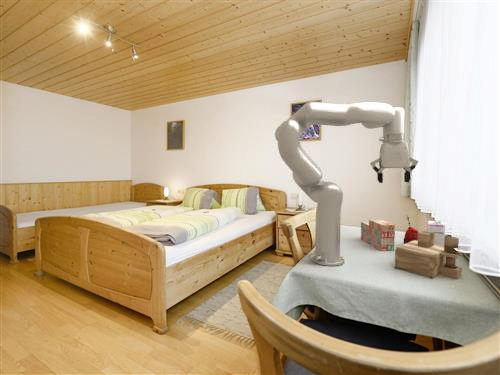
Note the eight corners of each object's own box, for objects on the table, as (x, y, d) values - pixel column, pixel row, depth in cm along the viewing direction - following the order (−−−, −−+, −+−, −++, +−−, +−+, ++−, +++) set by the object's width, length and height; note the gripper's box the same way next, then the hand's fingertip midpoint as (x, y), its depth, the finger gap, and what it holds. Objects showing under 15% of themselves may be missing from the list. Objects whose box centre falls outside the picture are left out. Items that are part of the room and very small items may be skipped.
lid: (451, 265, 81) (452, 243, 80) (396, 252, 94) (396, 233, 94) (467, 255, 90) (468, 235, 90) (414, 244, 104) (415, 227, 103)
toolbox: (451, 283, 81) (451, 262, 81) (394, 268, 95) (395, 249, 94) (466, 272, 91) (467, 252, 90) (413, 259, 104) (413, 242, 104)
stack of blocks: (360, 239, 137) (360, 216, 136) (372, 239, 137) (372, 216, 136) (380, 251, 115) (381, 224, 115) (394, 251, 115) (395, 224, 114)
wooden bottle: (455, 278, 85) (456, 239, 85) (441, 274, 88) (442, 237, 88) (458, 275, 88) (460, 238, 87) (445, 272, 91) (446, 235, 90)
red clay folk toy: (422, 249, 117) (423, 217, 116) (404, 248, 120) (405, 216, 119) (418, 245, 124) (419, 214, 123) (402, 243, 127) (403, 213, 126)
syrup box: (444, 259, 104) (446, 224, 103) (427, 257, 107) (428, 222, 106) (443, 255, 108) (444, 221, 108) (426, 253, 112) (427, 220, 111)
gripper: (372, 140, 101) (373, 183, 102) (421, 137, 97) (421, 182, 99) (368, 142, 108) (368, 182, 109) (413, 139, 105) (413, 181, 106)
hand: (393, 182), depth 104 cm, fingers open, 9 cm apart
